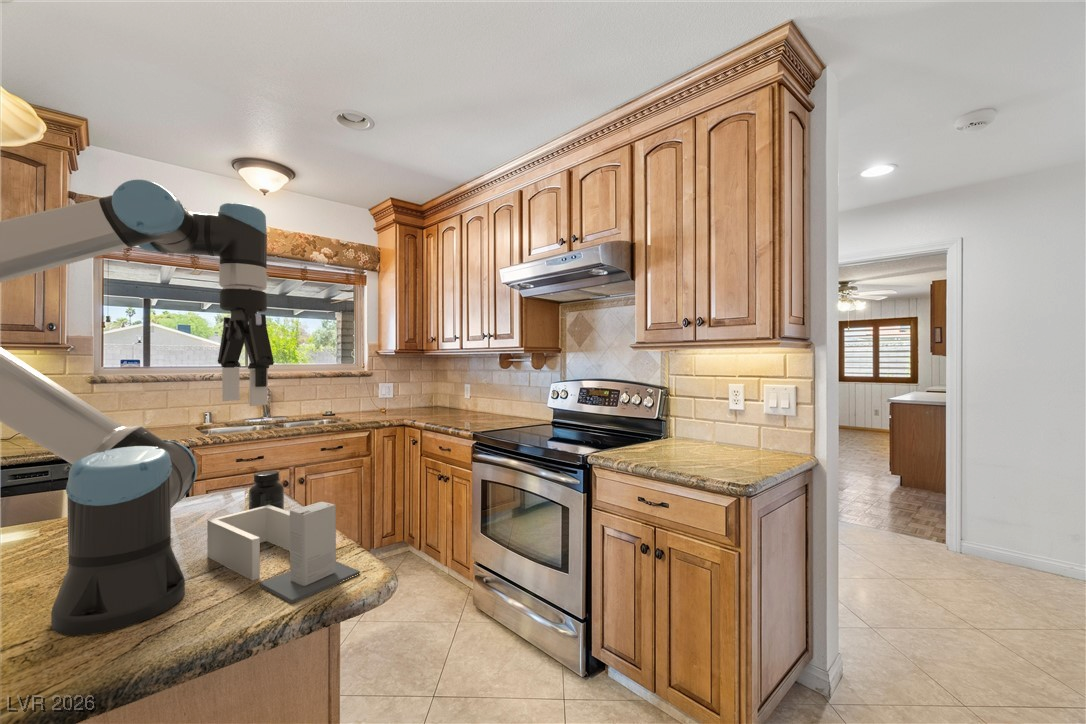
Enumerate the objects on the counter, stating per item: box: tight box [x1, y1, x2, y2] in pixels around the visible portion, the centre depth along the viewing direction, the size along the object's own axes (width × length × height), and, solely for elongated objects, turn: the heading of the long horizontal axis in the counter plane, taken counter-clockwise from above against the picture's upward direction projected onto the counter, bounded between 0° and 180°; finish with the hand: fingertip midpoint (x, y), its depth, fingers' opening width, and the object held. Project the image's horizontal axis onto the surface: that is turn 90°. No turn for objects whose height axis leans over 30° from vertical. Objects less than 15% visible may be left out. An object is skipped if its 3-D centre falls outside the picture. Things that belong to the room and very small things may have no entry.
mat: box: [258, 561, 361, 604], centre depth 82 cm, size 12×10×1 cm
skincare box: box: [289, 501, 337, 586], centre depth 81 cm, size 6×4×12 cm
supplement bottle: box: [248, 470, 285, 510], centre depth 107 cm, size 7×7×12 cm
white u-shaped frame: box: [206, 505, 290, 581], centre depth 91 cm, size 11×17×7 cm, turn 56°
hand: (244, 403), depth 90 cm, fingers open, 13 cm apart
